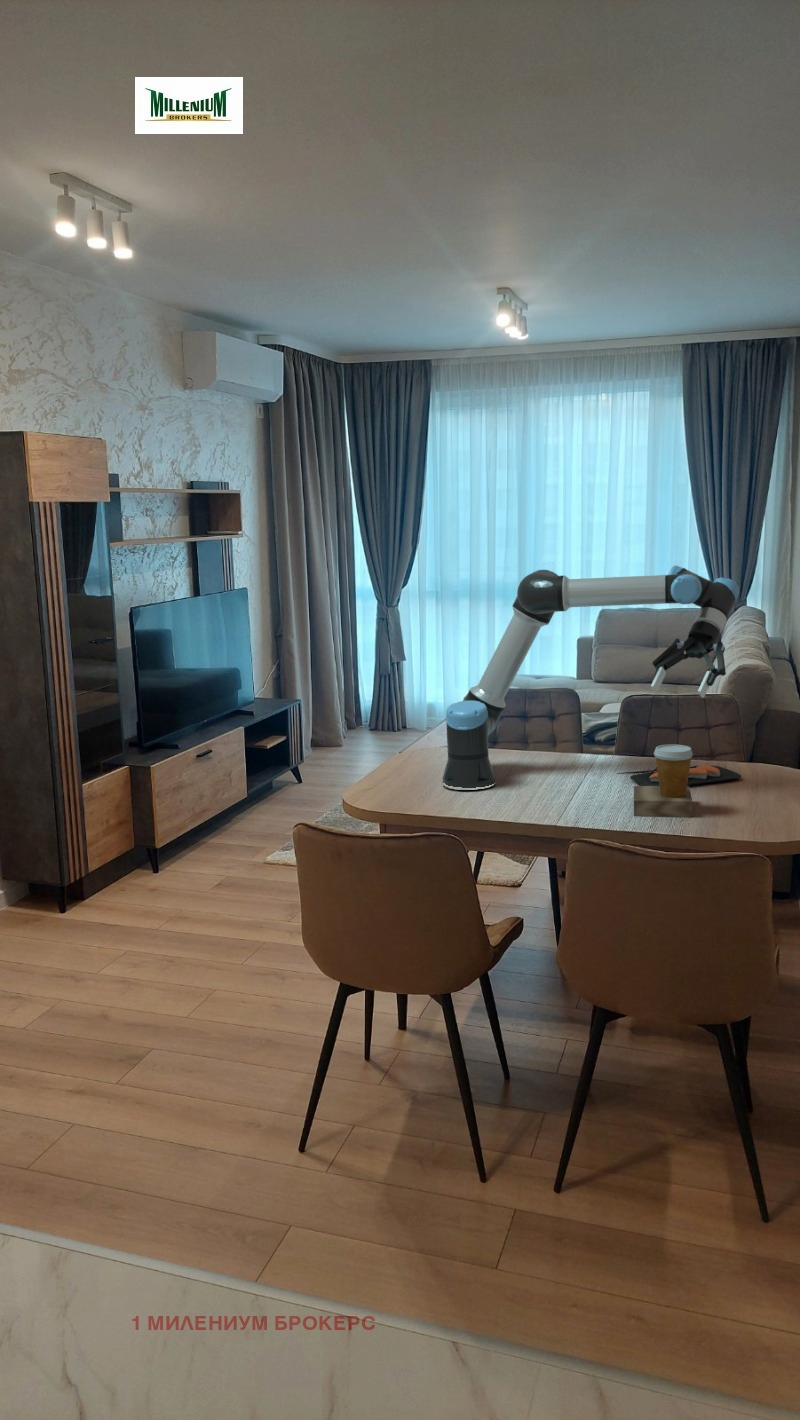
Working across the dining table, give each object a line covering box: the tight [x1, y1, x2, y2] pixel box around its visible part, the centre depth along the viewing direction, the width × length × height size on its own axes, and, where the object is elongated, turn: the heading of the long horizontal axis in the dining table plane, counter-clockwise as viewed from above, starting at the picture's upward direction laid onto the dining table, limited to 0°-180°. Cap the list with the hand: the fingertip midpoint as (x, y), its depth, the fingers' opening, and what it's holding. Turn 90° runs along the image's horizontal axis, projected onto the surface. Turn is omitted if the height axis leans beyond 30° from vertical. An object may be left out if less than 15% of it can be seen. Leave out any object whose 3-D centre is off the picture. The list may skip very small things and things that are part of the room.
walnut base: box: [633, 785, 693, 818], centre depth 252 cm, size 14×14×4 cm
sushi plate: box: [616, 765, 742, 786], centre depth 285 cm, size 29×30×4 cm
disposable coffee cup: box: [653, 744, 694, 798], centre depth 249 cm, size 10×10×12 cm
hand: (676, 691), depth 258 cm, fingers open, 13 cm apart
